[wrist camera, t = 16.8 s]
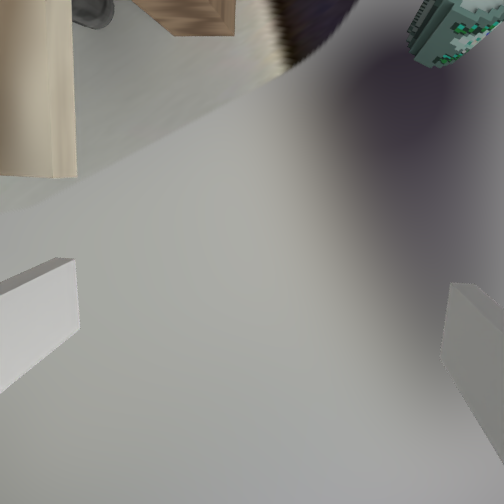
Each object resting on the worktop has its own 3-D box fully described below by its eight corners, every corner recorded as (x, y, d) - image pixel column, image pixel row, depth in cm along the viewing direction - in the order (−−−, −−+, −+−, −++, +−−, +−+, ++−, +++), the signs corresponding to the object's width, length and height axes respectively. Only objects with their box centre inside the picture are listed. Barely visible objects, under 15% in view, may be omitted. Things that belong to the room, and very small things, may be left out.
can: (448, 77, 45) (502, 35, 31) (396, 50, 46) (425, -4, 31) (482, 19, 44) (557, -54, 29) (428, -8, 44) (475, -93, 30)
